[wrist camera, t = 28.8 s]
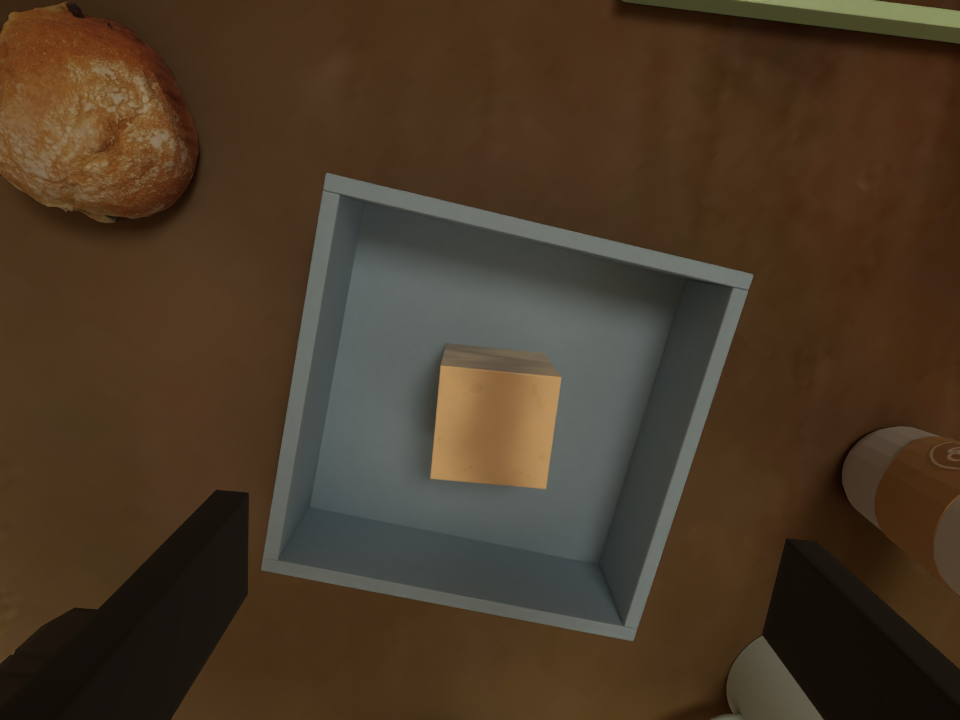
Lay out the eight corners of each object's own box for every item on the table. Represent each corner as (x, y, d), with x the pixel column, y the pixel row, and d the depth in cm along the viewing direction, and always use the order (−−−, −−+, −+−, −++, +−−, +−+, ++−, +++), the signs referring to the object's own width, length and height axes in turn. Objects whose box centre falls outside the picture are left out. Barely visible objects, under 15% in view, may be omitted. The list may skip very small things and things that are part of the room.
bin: (354, 185, 31) (325, 172, 25) (699, 267, 33) (754, 274, 26) (297, 511, 36) (260, 570, 29) (605, 572, 37) (633, 642, 31)
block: (436, 438, 34) (430, 479, 28) (445, 342, 33) (440, 365, 27) (533, 446, 34) (546, 489, 29) (545, 352, 33) (561, 377, 27)
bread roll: (77, 197, 35) (-6, 257, 28) (-20, 3, 28) (-156, 24, 22) (236, 188, 35) (188, 245, 28) (173, -8, 28) (93, 9, 22)
